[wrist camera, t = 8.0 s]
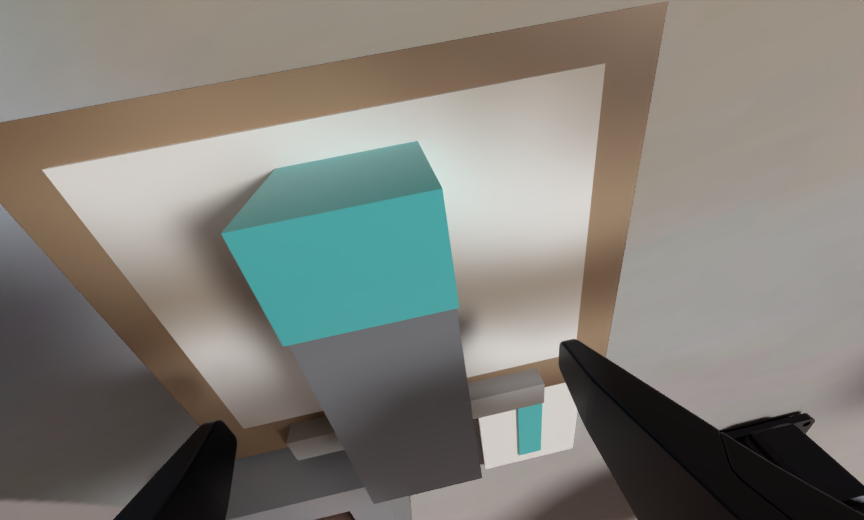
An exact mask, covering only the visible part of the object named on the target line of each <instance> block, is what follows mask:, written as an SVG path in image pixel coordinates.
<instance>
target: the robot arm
mask: <svg viewBox="0 0 864 520" xmlns="http://www.w3.org/2000/svg"><path fill="white" fill-rule="evenodd" d="M558 364H559V368H560V371H561V374H562V376H563V378H564V380H565V383H566V385H567V387H568V390H569V392H570V394H571V396H572V399H573V401H574V403H575V405H576V408H577V410H578V412H579V415H580V417H581V419H582V421H583V423H584V425H585V427H586V429H587V431H588V433H589V435H590V436H591V438H592V440H593V442H594V443H595V445H596V447H597V449H598V450H599V452H600V454H601V456H602V457H603V459H604V461H605V463H606V465H607V466H608V468H609V470H610V472H611V473H612V475H613V477H614V479H615V480H616V482H617V484H618V486H619V487H620V489H621V491H622V493H623V494H624V496H625V498H626V500H627V501H628V503H629V505H630V507H631V508H632V510H633V512H634V514H635V516H636V517H637V519H638V520H864V485H863V484H862V483H861V482H859V481H858V480H857V479H856V478H855V477H854V476H853V475H851V474H850V473H849V472H848V471H847V470H846V469H845V468H843V467H842V466H841V465H840V464H839V463H838V462H837V461H835V460H834V459H833V458H832V457H831V456H830V455H829V454H828V453H826V452H825V451H824V450H823V449H822V448H821V447H820V446H818V445H817V444H816V443H815V442H814V441H813V440H812V439H810V438H809V437H808V436H807V435H806V432H807V431H808V430H809V428H810V427H811V426H812V424H813V423H814V422H815V420H814V419H813V418H812V417H811V416H810V415H808V414H807V413H804V414H800V415H796V416H792V417H787V418H783V419H779V420H775V421H771V422H767V423H763V424H759V425H755V426H751V427H747V428H743V429H739V430H735V431H730V432H726V433H723V432H721V433H720V432H719V430H718V429H717V428H715V427H713V426H712V425H710V424H709V423H707V422H706V421H704V420H702V419H701V418H699V417H698V416H696V415H695V414H693V413H691V412H690V411H688V410H687V409H685V408H684V407H682V406H681V405H679V404H677V403H676V402H674V401H673V400H671V399H670V398H668V397H666V396H665V395H663V394H662V393H660V392H659V391H657V390H655V389H654V388H652V387H651V386H649V385H648V384H646V383H644V382H643V381H641V380H640V379H638V378H637V377H635V376H634V375H632V374H630V373H629V372H627V371H626V370H624V369H623V368H621V367H619V366H618V365H616V364H615V363H613V362H612V361H610V360H608V359H607V358H605V357H604V356H602V355H601V354H599V353H597V352H596V351H594V350H593V349H591V348H590V347H588V346H587V345H585V344H583V343H582V342H580V341H579V340H576V339H570V340H566V341H562V342H561V343H560V345H559V359H558ZM236 451H237V439H236V436H235V435H234V433H233V432H232V431H231V430H230V429H229V427H228V426H227V425H226V424H225V422H224V421H222V420H214V421H209V422H206V423H203V424H202V425H201V426H200V427H199V428H198V429H197V430H196V431H195V432H194V433H193V434H192V435H191V436H190V437H189V438H188V440H187V441H186V442H185V443H184V444H183V445H182V446H181V447H180V448H179V449H178V450H177V451H176V452H175V454H174V455H173V456H172V457H171V458H170V459H169V460H168V461H167V462H166V463H165V464H164V465H163V467H162V468H161V469H160V470H159V471H158V472H157V473H156V474H155V475H154V476H153V477H152V478H151V479H150V481H149V482H148V483H147V484H146V485H145V486H144V487H143V488H142V489H141V490H140V491H139V492H138V493H137V495H136V496H135V497H134V498H133V499H132V500H131V501H130V502H129V503H128V504H127V505H126V506H125V508H124V509H123V510H122V511H121V512H120V513H119V514H118V515H117V516H116V517H115V518H114V519H113V520H225V519H226V515H227V511H228V505H229V499H230V492H231V485H232V479H233V472H234V465H235V458H236Z"/></svg>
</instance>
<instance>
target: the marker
mask: <svg viewBox="0 0 864 520" xmlns="http://www.w3.org/2000/svg"><path fill="white" fill-rule="evenodd" d="M221 235H222V237H223V238H224V240H225V242H226V244H227V246H228V248H229V249H230V251H231V253H232V255H233V257H234V258H235V260H236V262H237V264H238V266H239V267H240V269H241V271H242V273H243V275H244V277H245V278H246V280H247V282H248V284H249V286H250V287H251V289H252V291H253V293H254V295H255V297H256V298H257V300H258V302H259V304H260V306H261V307H262V309H263V311H264V313H265V315H266V317H267V318H268V320H269V322H270V324H271V326H272V327H273V329H274V331H275V333H276V335H277V337H278V338H279V340H280V342H281V344H282V346H283V347H284V346H289V347H290V349H291V351H292V353H293V355H294V357H295V359H296V360H297V362H298V364H299V366H300V368H301V370H302V372H303V374H304V375H305V377H306V379H307V381H308V383H309V385H310V387H311V388H312V390H313V392H314V394H315V396H316V398H317V400H318V401H319V403H320V405H321V407H322V409H323V411H324V413H325V414H326V416H327V418H328V420H329V422H330V424H331V426H332V428H333V429H334V431H335V433H336V435H337V437H338V439H339V441H340V442H341V444H342V446H343V448H344V450H345V452H346V454H347V455H348V457H349V459H350V461H351V463H352V465H353V467H354V468H355V470H356V472H357V474H358V476H359V478H360V480H361V481H362V483H363V485H364V487H365V489H366V491H367V493H368V495H369V496H370V498H371V500H372V502H373V504H377V503H381V502H385V501H389V500H393V499H398V498H402V497H406V496H410V495H414V494H418V493H422V492H426V491H430V490H434V489H439V488H443V487H447V486H451V485H455V484H459V483H463V482H467V481H471V480H475V479H480V478H482V474H481V468H480V461H479V454H478V448H477V441H476V434H475V428H474V421H473V415H472V408H471V401H470V395H469V388H468V381H467V375H466V368H465V361H464V355H463V348H462V341H461V335H460V328H459V321H458V315H457V308H460V307H459V300H458V293H457V286H456V279H455V272H454V265H453V259H452V252H451V245H450V238H449V231H448V224H447V217H446V210H445V203H444V196H443V189H442V187H441V185H440V183H439V181H438V179H437V177H436V175H435V173H434V171H433V169H432V168H431V166H430V164H429V162H428V160H427V158H426V156H425V154H424V152H423V150H422V148H421V146H420V144H419V142H418V141H414V142H409V143H404V144H398V145H393V146H388V147H383V148H378V149H373V150H368V151H363V152H358V153H352V154H347V155H342V156H337V157H332V158H327V159H322V160H317V161H312V162H306V163H301V164H296V165H291V166H286V167H281V168H276V169H275V170H274V171H273V172H272V173H271V174H270V176H269V177H268V178H267V179H266V180H265V182H264V183H263V184H262V185H261V186H260V187H259V189H258V190H257V191H256V192H255V193H254V195H253V196H252V197H251V198H250V199H249V201H248V202H247V203H246V204H245V205H244V207H243V208H242V209H241V210H240V211H239V213H238V214H237V215H236V216H235V217H234V218H233V220H232V221H231V222H230V223H229V224H228V226H227V227H226V228H225V229H224V230H223V232H222V233H221Z"/></svg>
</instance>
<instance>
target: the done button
mask: <svg viewBox="0 0 864 520" xmlns="http://www.w3.org/2000/svg"><path fill="white" fill-rule="evenodd" d="M315 520H355V518H354V517H353V515H352V514H351V512H350V511H348V512H344V513H340V514H336V515H332V516H328V517H323V518H319V519H315Z"/></svg>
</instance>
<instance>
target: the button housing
mask: <svg viewBox="0 0 864 520" xmlns="http://www.w3.org/2000/svg"><path fill="white" fill-rule="evenodd" d="M348 511H350V512H351V514H352V515H353V517H354V518H355V520H412V512H411V501H410V496H406V497H402V498H398V499H393V500H389V501H385V502H381V503H377V504H373V502H372V500H371V498H370V496H369V495H368V493H367V491H366V489H365V487H364V485H363V483H362V481H361V480H360V478H359V476H358V474H357V472H356V470H355V468H354V467H353V465H352V463H351V461H350V459H349V457H348V455H347V454H346V452H345V450H341V451H337V452H332V453H328V454H324V455H320V456H315V457H311V458H307V459H303V460H297V459H296V457H295V456H294V454H293V453H292V451H291V450H290V448H289V447H287V448H282V449H278V450H274V451H269V452H265V453H261V454H256V455H252V456H248V457H244V458H239V459H235V465H234V472H233V479H232V485H231V492H230V499H229V505H228V511H227V515H226V519H225V520H315V519H319V518H323V517H328V516H332V515H336V514H340V513H344V512H348Z"/></svg>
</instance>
